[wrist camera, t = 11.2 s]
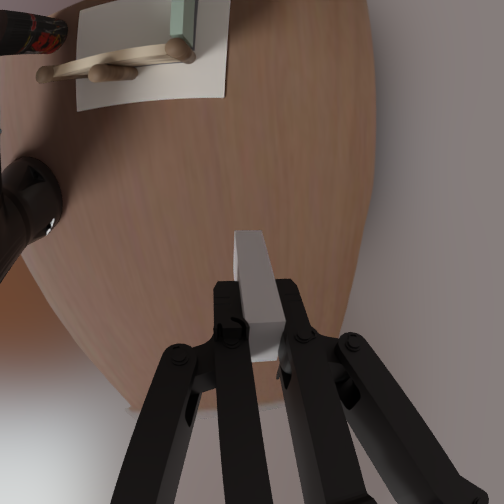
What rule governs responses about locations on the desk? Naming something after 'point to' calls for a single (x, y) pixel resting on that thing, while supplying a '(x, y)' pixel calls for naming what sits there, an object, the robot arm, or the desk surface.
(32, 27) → the deodorant
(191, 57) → the fence fixed
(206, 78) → the card
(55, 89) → the desk surface
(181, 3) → the fence gate
